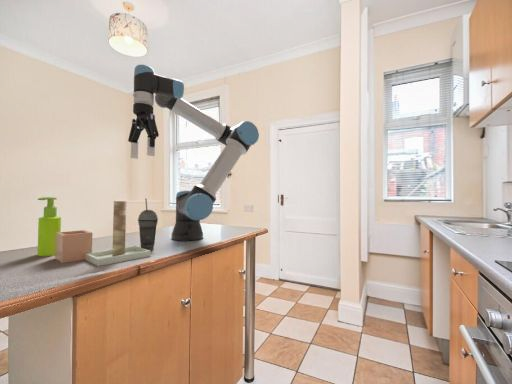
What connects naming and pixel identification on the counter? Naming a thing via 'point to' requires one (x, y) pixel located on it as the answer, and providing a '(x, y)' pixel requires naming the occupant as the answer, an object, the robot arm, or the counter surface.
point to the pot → (72, 245)
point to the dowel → (119, 228)
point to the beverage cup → (147, 228)
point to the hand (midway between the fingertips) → (142, 157)
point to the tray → (107, 258)
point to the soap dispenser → (48, 228)
